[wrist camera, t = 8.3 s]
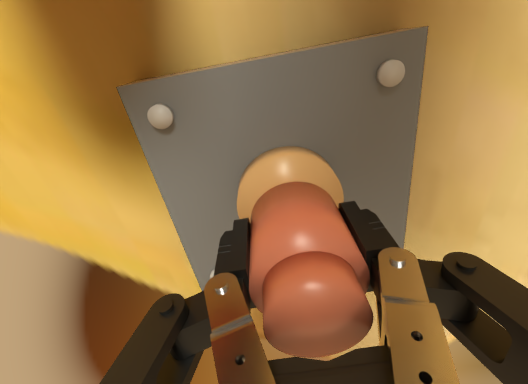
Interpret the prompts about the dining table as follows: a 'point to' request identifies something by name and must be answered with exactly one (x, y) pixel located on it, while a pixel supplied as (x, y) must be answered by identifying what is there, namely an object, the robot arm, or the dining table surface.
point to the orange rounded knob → (307, 272)
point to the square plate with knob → (282, 133)
